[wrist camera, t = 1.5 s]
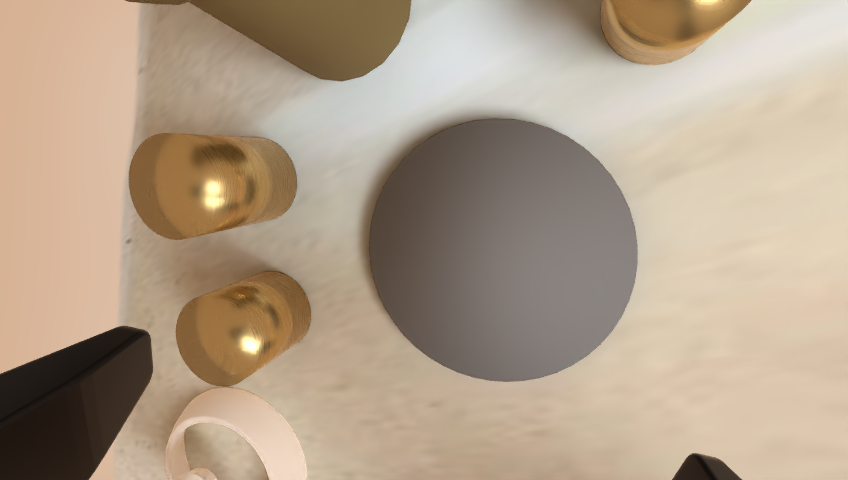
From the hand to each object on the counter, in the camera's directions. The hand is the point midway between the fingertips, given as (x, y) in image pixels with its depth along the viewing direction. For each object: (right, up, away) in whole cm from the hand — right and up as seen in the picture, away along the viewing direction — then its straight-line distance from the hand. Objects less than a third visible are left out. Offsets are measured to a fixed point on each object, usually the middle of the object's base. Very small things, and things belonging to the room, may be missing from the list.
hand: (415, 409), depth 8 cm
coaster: (+3, +2, +11) cm, 11 cm away
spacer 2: (-7, 0, +14) cm, 16 cm away
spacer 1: (-7, +5, +13) cm, 16 cm away
